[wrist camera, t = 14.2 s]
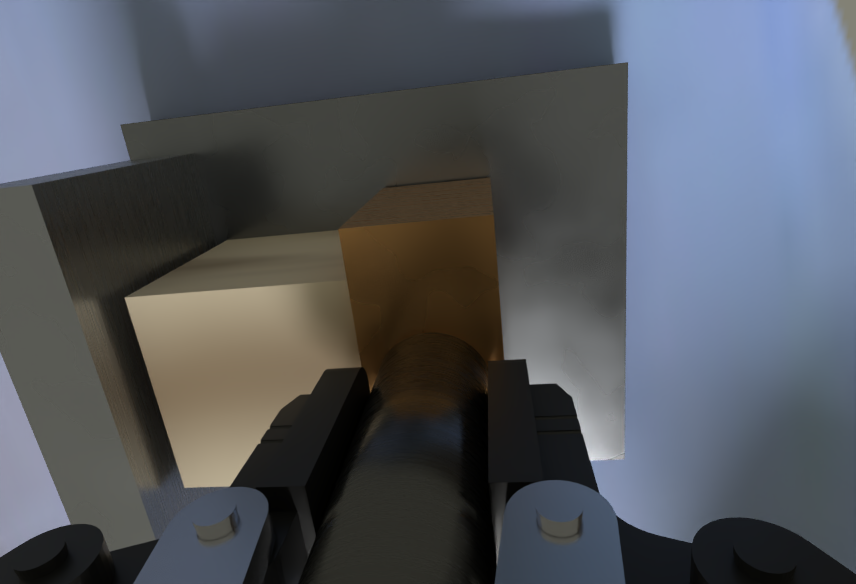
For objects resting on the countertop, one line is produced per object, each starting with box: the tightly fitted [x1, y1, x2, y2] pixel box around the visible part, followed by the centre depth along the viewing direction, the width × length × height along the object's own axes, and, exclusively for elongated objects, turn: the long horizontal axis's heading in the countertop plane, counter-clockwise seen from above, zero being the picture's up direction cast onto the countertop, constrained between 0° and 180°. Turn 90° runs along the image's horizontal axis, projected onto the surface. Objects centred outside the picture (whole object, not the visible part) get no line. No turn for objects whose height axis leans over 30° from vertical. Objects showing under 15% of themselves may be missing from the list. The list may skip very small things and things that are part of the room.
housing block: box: [125, 230, 361, 488], centre depth 15 cm, size 5×5×5 cm
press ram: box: [298, 178, 504, 584], centre depth 11 cm, size 7×3×11 cm, turn 6°
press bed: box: [0, 62, 628, 552], centre depth 14 cm, size 12×14×8 cm
